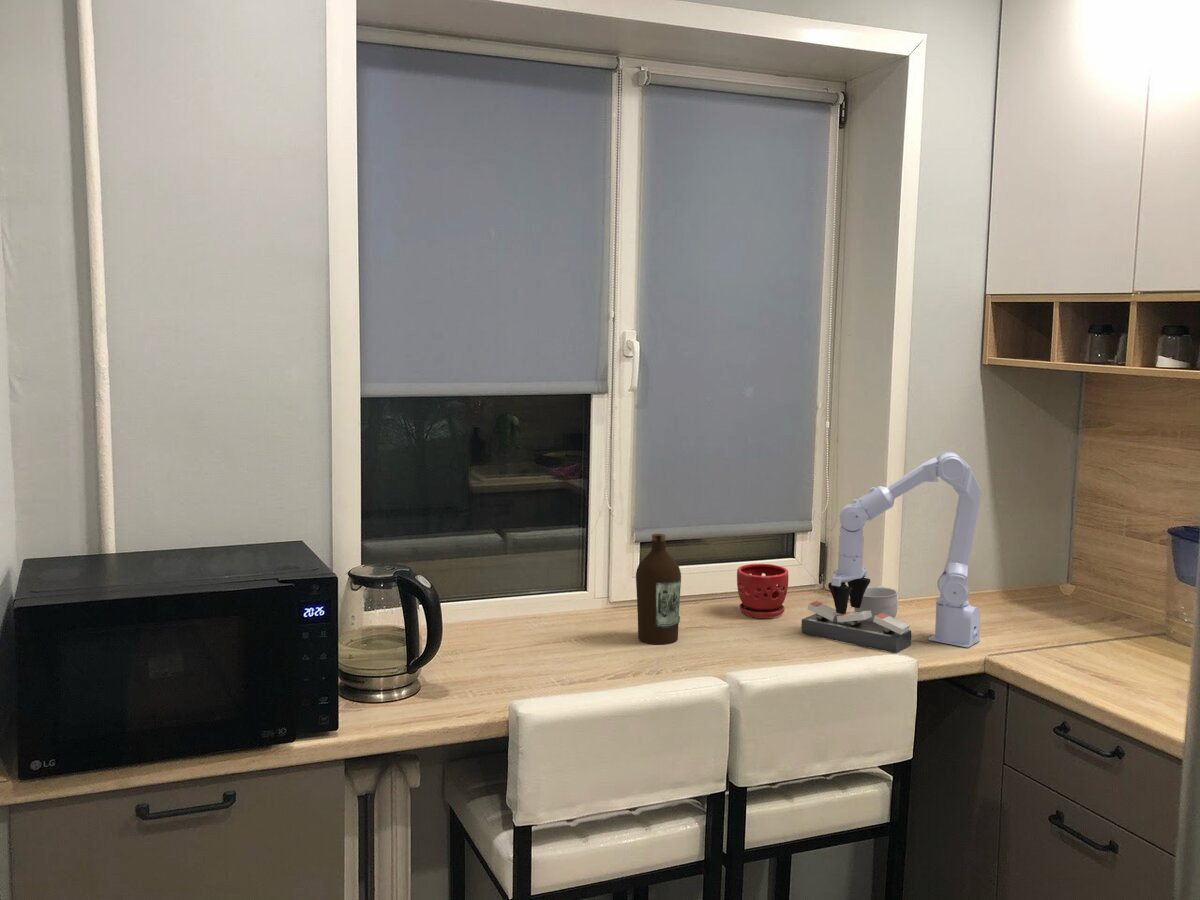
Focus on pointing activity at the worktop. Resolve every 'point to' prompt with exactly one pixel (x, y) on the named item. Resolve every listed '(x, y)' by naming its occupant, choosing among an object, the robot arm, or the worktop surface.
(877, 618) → the block
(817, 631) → the switch panel
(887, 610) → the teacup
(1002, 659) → the worktop surface
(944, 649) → the worktop surface
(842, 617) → the block
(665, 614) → the olive oil
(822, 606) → the rocker
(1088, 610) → the worktop surface
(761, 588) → the plant pot
